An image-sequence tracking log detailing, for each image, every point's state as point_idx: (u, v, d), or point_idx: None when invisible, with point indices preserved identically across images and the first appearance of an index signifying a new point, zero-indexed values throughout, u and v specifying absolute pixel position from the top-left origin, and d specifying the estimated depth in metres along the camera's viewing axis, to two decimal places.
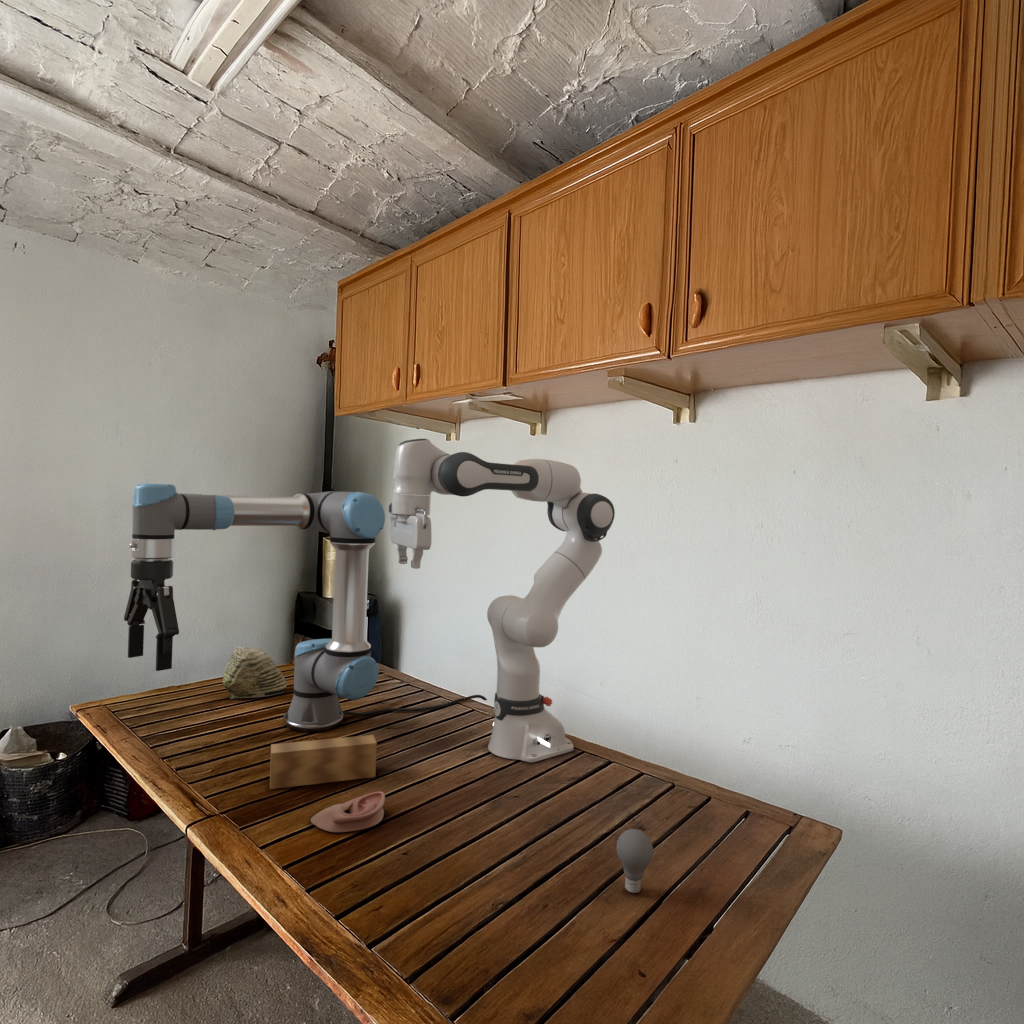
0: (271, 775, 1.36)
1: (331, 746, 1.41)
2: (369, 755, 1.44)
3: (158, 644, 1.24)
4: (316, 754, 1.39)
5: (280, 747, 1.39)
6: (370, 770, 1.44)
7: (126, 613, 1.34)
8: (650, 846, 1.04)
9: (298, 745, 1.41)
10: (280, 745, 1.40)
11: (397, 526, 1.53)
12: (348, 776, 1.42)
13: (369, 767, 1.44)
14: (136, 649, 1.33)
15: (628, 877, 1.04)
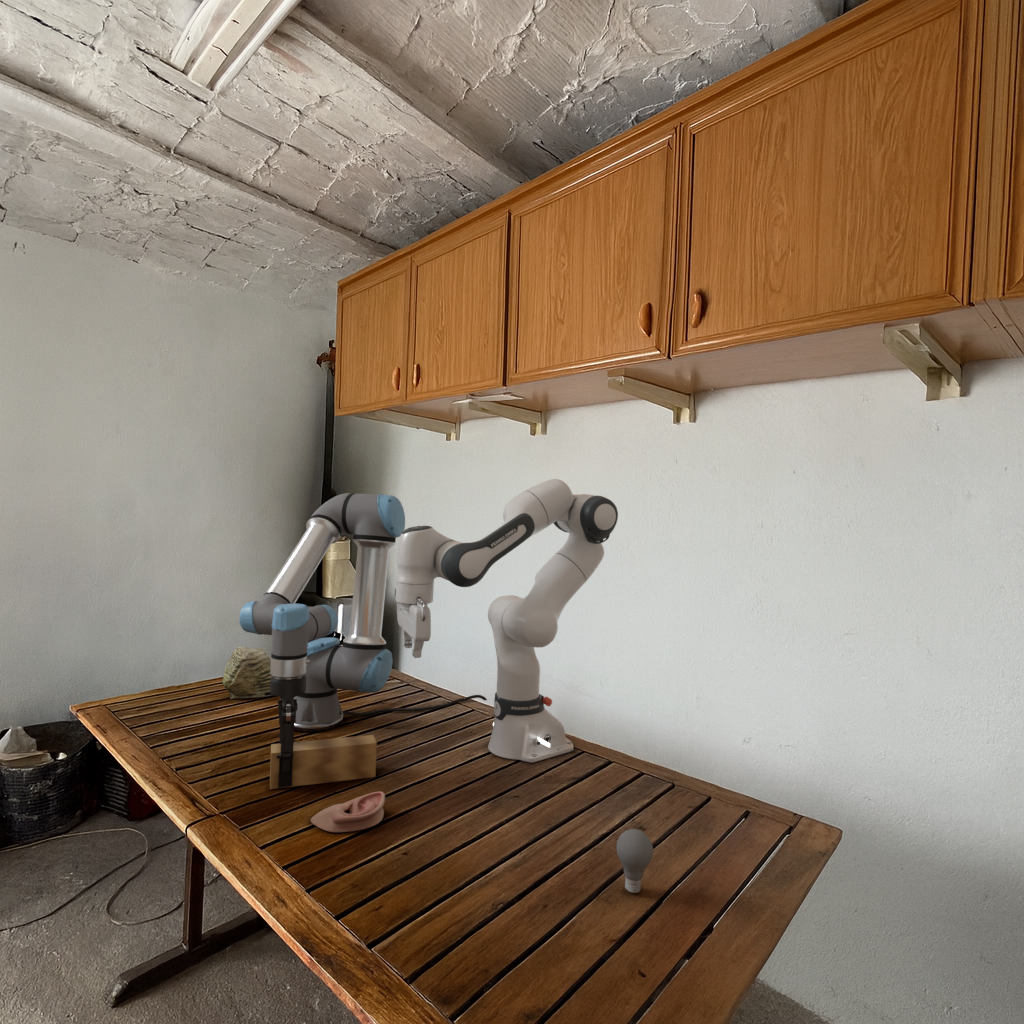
0: (271, 775, 1.36)
1: (331, 746, 1.41)
2: (369, 755, 1.44)
3: None
4: (316, 754, 1.39)
5: (280, 747, 1.39)
6: (370, 770, 1.44)
7: None
8: (650, 846, 1.04)
9: (298, 745, 1.41)
10: (280, 745, 1.40)
11: (403, 610, 1.54)
12: (348, 776, 1.42)
13: (369, 767, 1.44)
14: None
15: (628, 877, 1.04)
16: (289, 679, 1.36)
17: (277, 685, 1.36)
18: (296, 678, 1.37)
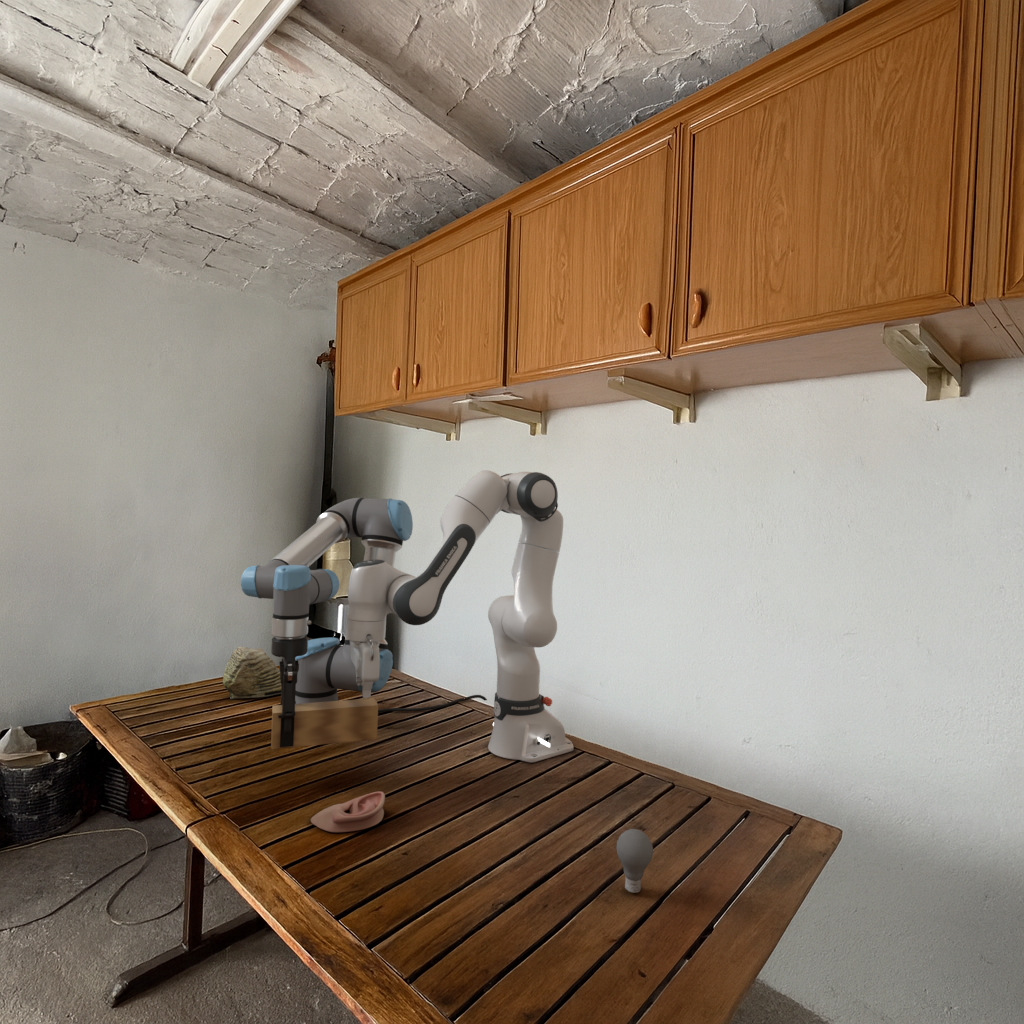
0: (272, 735, 1.36)
1: (332, 707, 1.41)
2: (370, 717, 1.43)
3: None
4: (318, 715, 1.39)
5: (281, 708, 1.39)
6: (371, 732, 1.44)
7: (294, 708, 1.34)
8: (650, 846, 1.04)
9: (299, 706, 1.41)
10: (281, 706, 1.40)
11: (355, 646, 1.49)
12: (350, 738, 1.42)
13: (371, 729, 1.44)
14: None
15: (628, 877, 1.04)
16: (291, 639, 1.36)
17: (278, 645, 1.35)
18: (298, 638, 1.37)
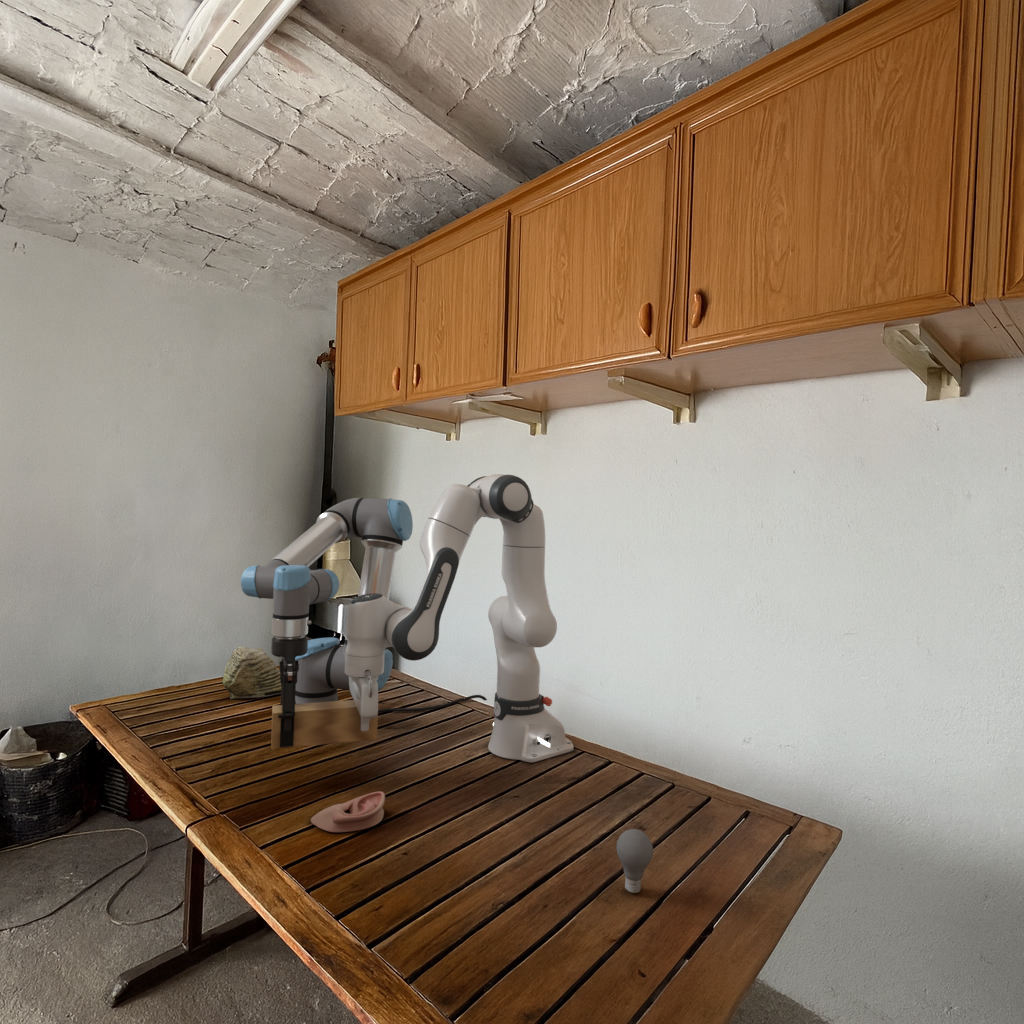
0: (272, 735, 1.36)
1: (332, 707, 1.41)
2: (370, 718, 1.43)
3: None
4: (318, 715, 1.39)
5: (281, 708, 1.39)
6: (371, 732, 1.44)
7: (294, 708, 1.34)
8: (650, 846, 1.04)
9: (299, 706, 1.41)
10: (281, 706, 1.40)
11: None
12: (350, 738, 1.42)
13: (371, 729, 1.44)
14: None
15: (628, 877, 1.04)
16: (290, 639, 1.36)
17: (278, 645, 1.35)
18: (297, 638, 1.37)
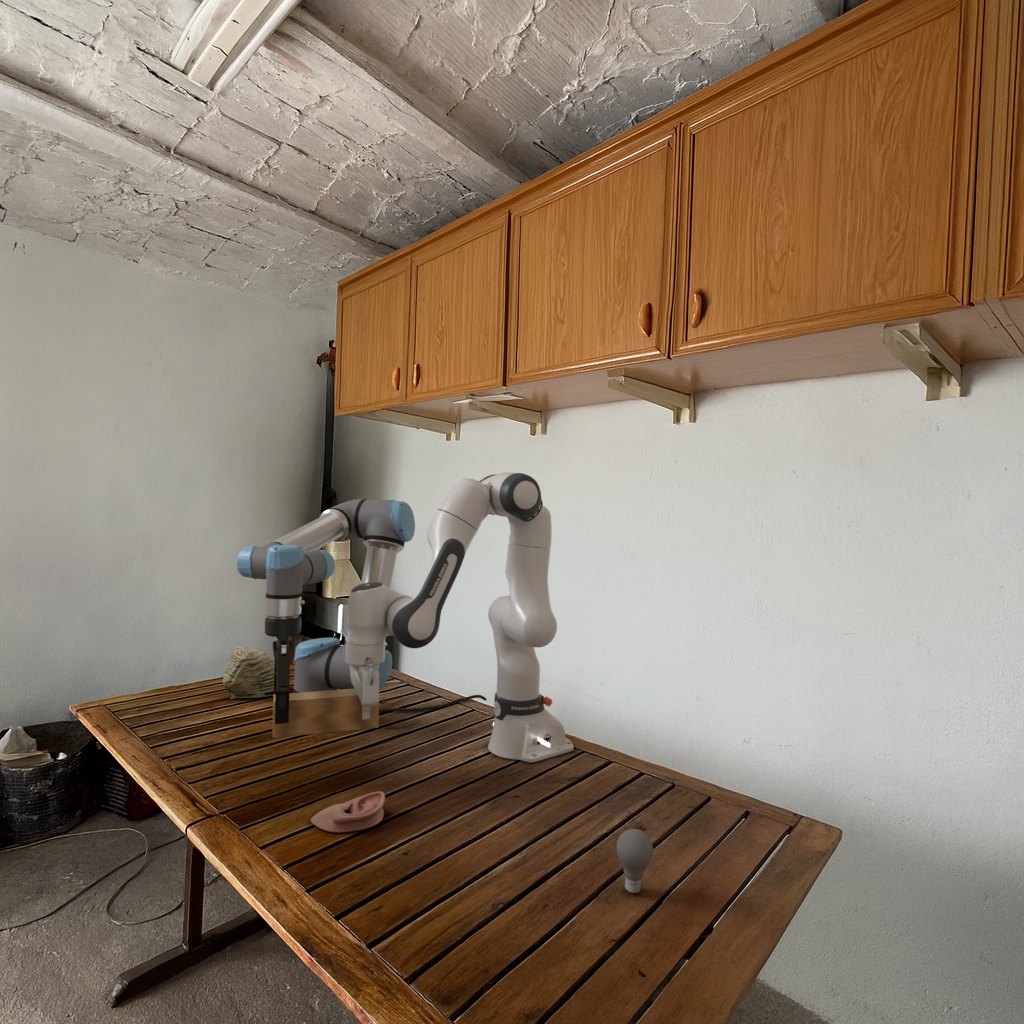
0: (274, 724, 1.36)
1: (333, 696, 1.41)
2: None
3: None
4: (319, 703, 1.39)
5: None
6: (373, 721, 1.44)
7: (289, 683, 1.31)
8: (650, 846, 1.04)
9: (300, 695, 1.41)
10: None
11: None
12: (351, 727, 1.42)
13: (372, 717, 1.44)
14: None
15: (628, 877, 1.04)
16: (284, 619, 1.35)
17: (272, 625, 1.35)
18: (291, 618, 1.36)
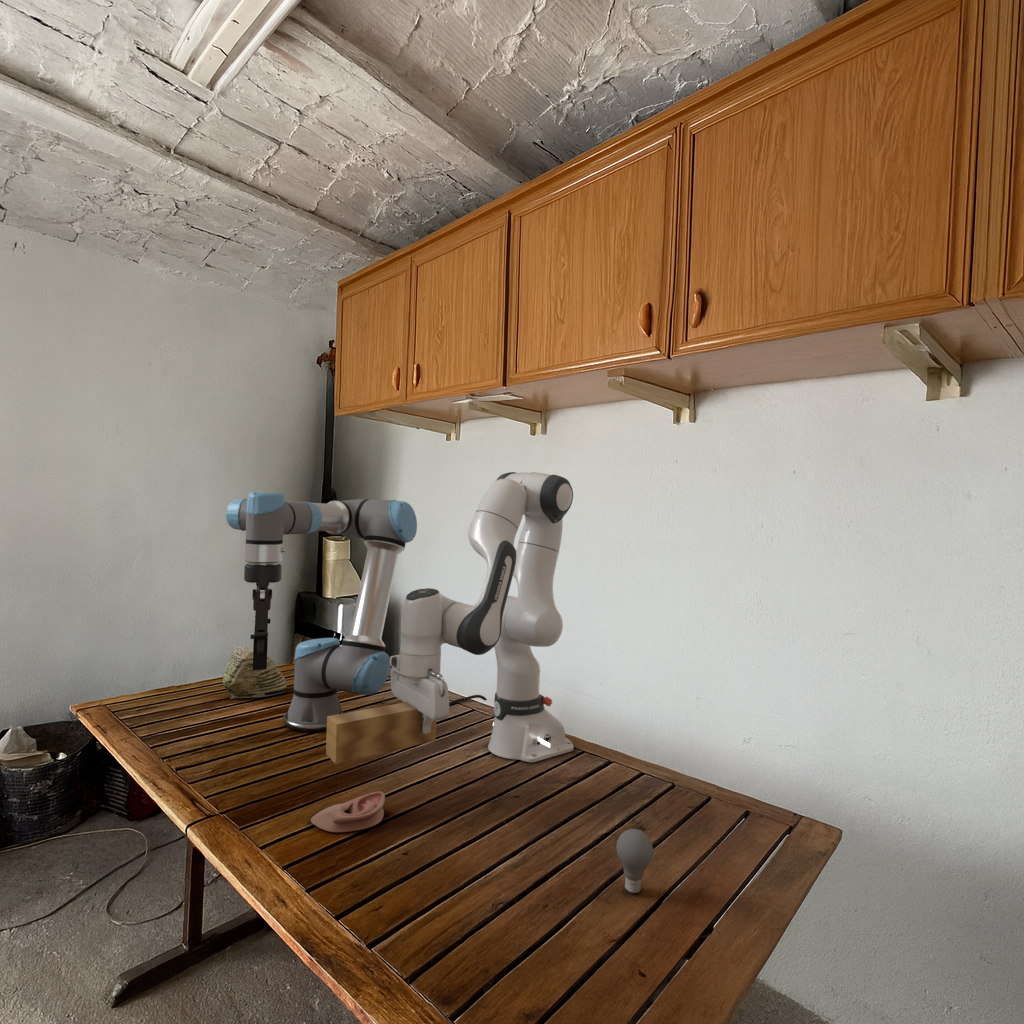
0: (336, 748, 1.24)
1: (393, 712, 1.32)
2: None
3: None
4: (380, 721, 1.30)
5: (340, 717, 1.27)
6: (430, 734, 1.37)
7: (267, 628, 1.29)
8: (650, 846, 1.04)
9: (357, 714, 1.30)
10: (338, 716, 1.28)
11: (402, 681, 1.41)
12: (410, 743, 1.34)
13: None
14: None
15: (628, 877, 1.04)
16: (263, 565, 1.34)
17: (251, 570, 1.33)
18: (271, 564, 1.35)
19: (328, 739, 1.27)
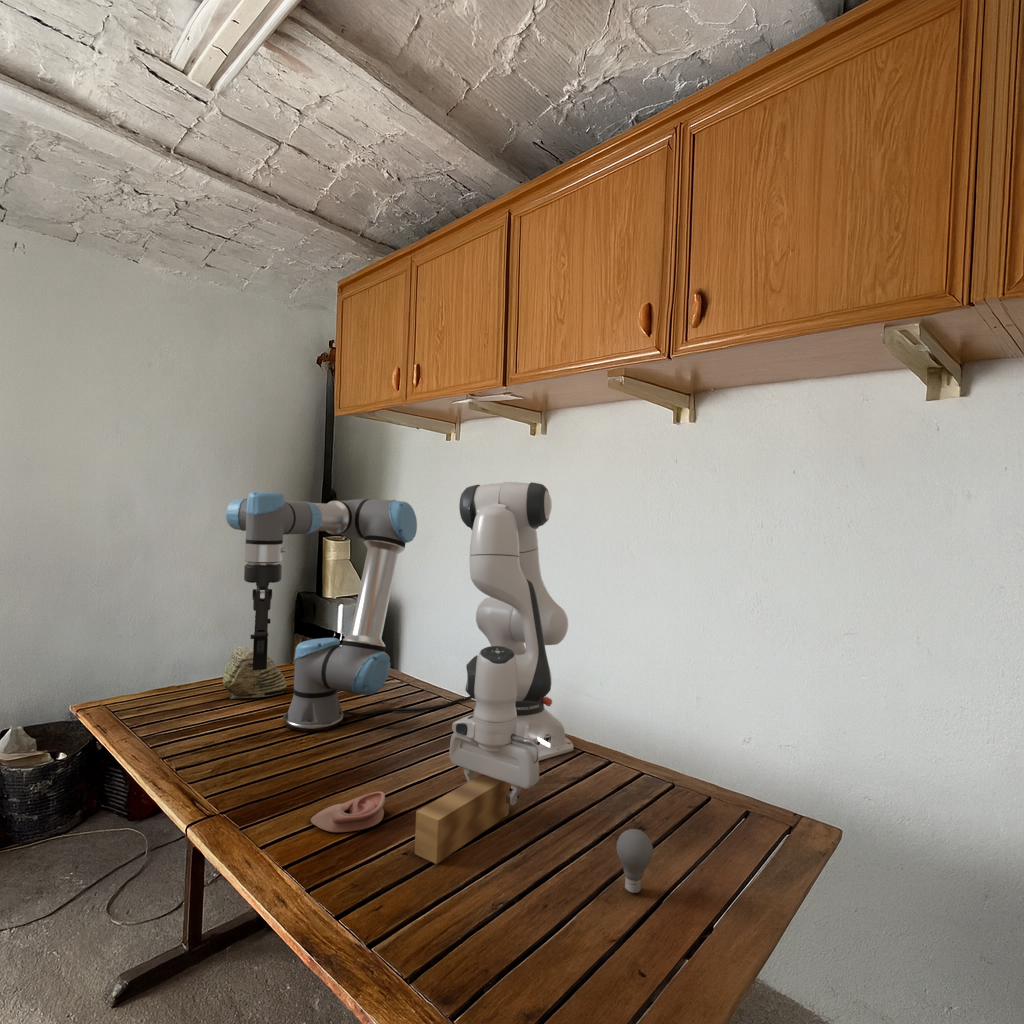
0: (437, 847, 1.11)
1: (478, 793, 1.22)
2: (505, 793, 1.28)
3: None
4: (470, 806, 1.19)
5: (432, 810, 1.14)
6: (505, 809, 1.29)
7: (267, 628, 1.29)
8: (650, 846, 1.04)
9: (446, 803, 1.17)
10: (428, 809, 1.15)
11: (468, 748, 1.30)
12: (491, 822, 1.25)
13: (505, 805, 1.29)
14: None
15: (628, 877, 1.04)
16: (263, 565, 1.34)
17: (251, 570, 1.33)
18: (271, 564, 1.35)
19: (420, 837, 1.13)
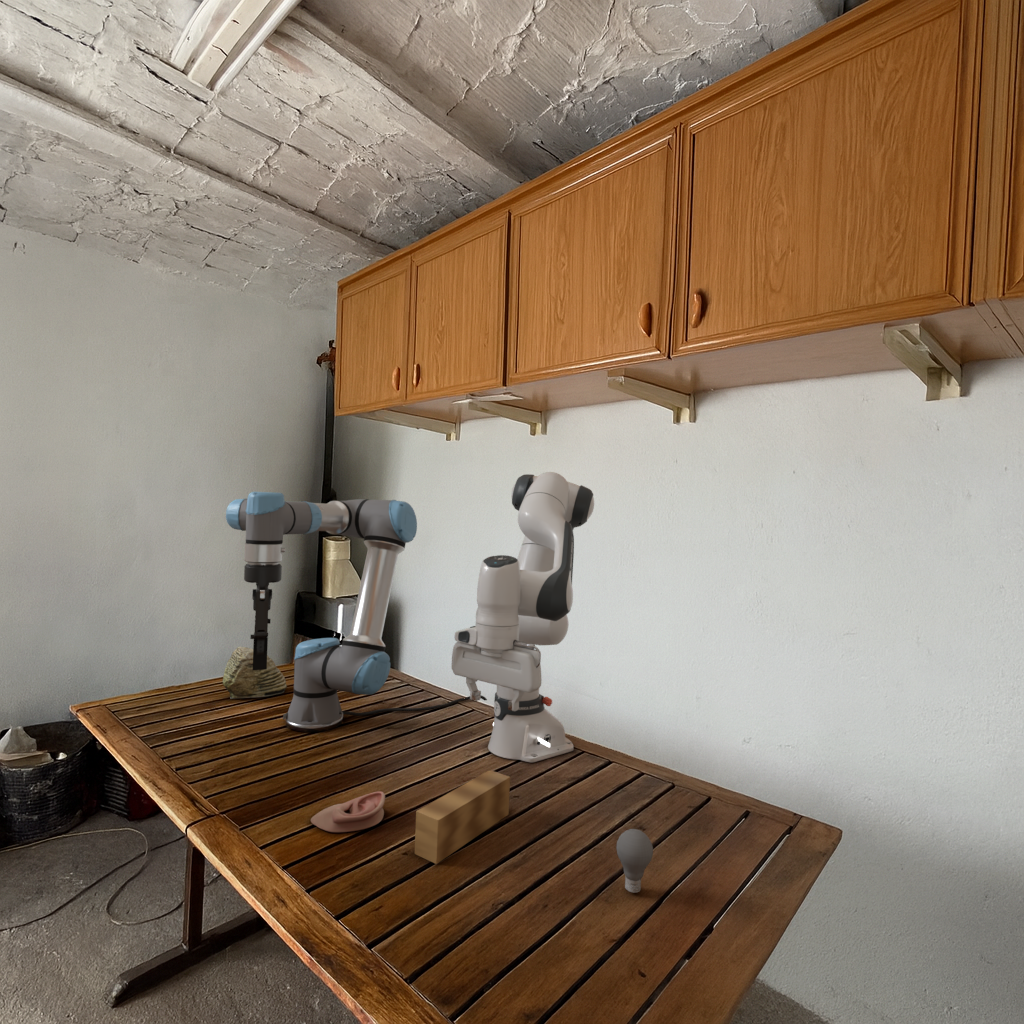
0: (437, 847, 1.11)
1: (478, 793, 1.22)
2: (505, 793, 1.28)
3: None
4: (470, 806, 1.19)
5: (432, 810, 1.14)
6: (505, 809, 1.29)
7: (267, 628, 1.29)
8: (650, 846, 1.04)
9: (446, 803, 1.17)
10: (428, 809, 1.15)
11: (471, 657, 1.29)
12: (491, 822, 1.25)
13: (505, 805, 1.29)
14: None
15: (628, 877, 1.04)
16: (263, 565, 1.34)
17: (251, 570, 1.33)
18: (271, 564, 1.35)
19: (420, 837, 1.13)
